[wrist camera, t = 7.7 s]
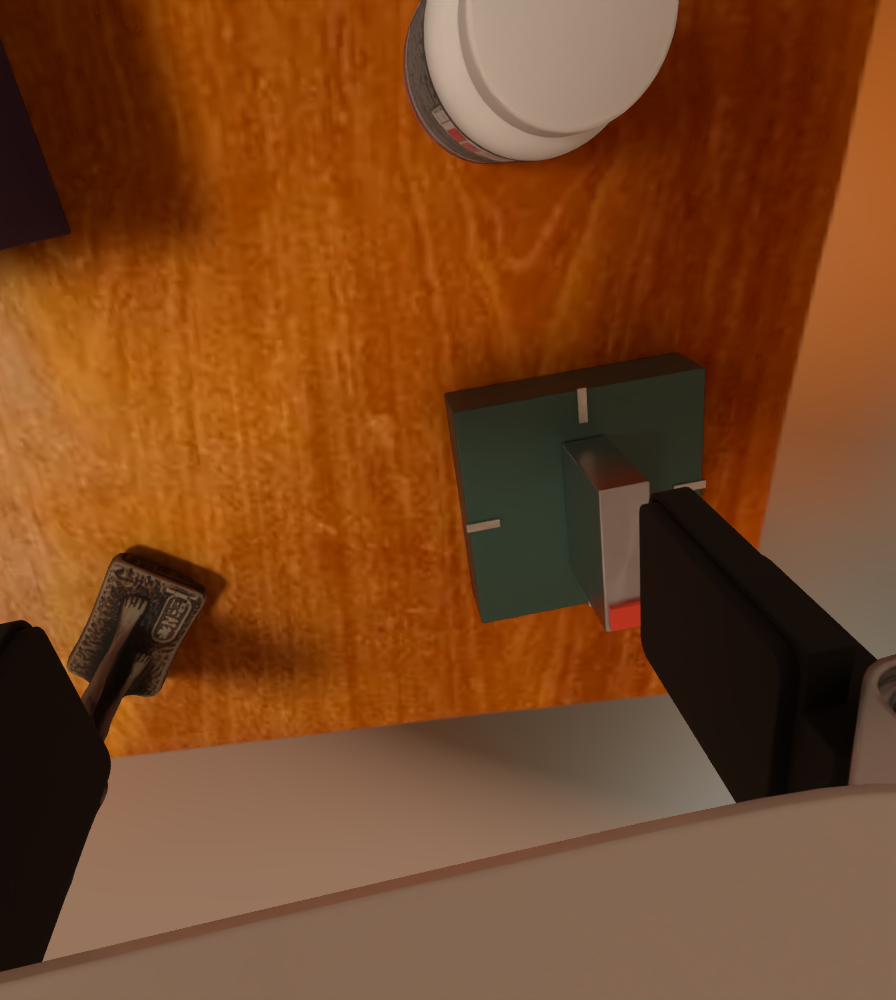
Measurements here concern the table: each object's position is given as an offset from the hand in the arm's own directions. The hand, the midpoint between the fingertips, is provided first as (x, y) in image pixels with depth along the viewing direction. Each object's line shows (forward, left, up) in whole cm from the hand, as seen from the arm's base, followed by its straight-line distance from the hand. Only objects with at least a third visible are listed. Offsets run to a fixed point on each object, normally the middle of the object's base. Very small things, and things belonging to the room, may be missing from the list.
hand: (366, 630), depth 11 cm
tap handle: (+7, +8, -15) cm, 19 cm away
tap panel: (+7, +8, -18) cm, 21 cm away
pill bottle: (-9, +6, -18) cm, 21 cm away
